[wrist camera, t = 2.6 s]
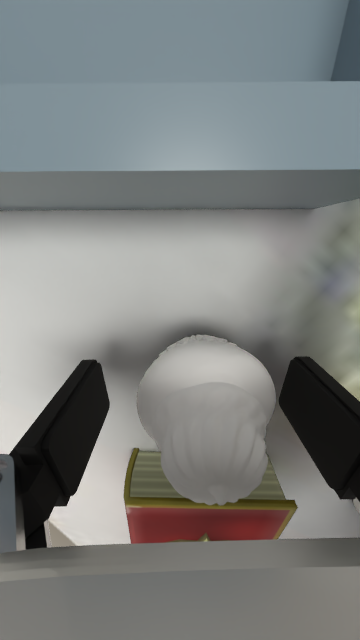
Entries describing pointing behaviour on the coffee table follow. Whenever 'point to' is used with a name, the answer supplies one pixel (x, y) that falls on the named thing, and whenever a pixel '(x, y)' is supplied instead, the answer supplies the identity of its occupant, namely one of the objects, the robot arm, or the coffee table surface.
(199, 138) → the bin
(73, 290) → the coffee table surface
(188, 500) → the hardcover book
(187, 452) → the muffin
